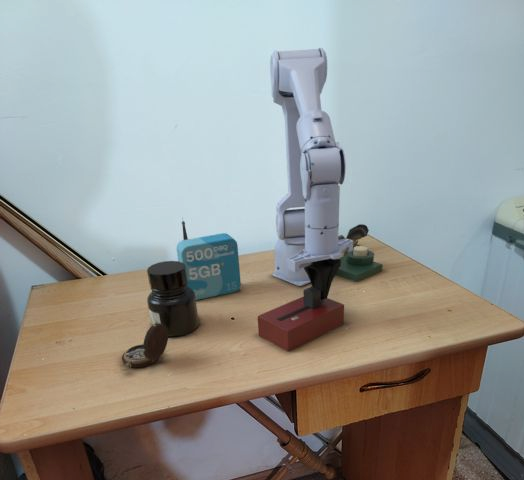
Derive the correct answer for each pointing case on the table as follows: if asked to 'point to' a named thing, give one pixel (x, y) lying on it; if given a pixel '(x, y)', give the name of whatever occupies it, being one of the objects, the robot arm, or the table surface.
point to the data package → (210, 264)
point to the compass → (147, 348)
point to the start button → (360, 251)
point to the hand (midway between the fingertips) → (320, 297)
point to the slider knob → (312, 297)
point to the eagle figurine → (355, 234)
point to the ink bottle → (172, 298)
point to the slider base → (299, 322)
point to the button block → (358, 266)
